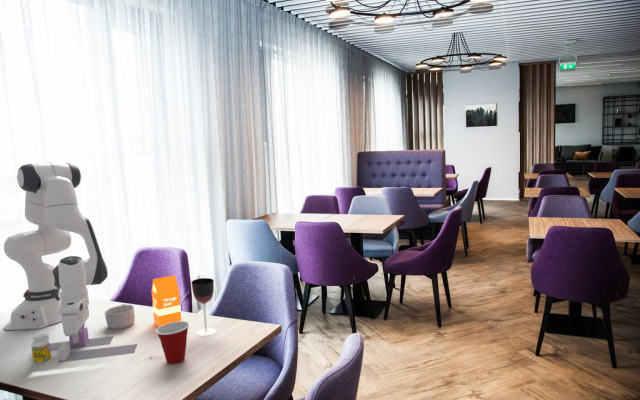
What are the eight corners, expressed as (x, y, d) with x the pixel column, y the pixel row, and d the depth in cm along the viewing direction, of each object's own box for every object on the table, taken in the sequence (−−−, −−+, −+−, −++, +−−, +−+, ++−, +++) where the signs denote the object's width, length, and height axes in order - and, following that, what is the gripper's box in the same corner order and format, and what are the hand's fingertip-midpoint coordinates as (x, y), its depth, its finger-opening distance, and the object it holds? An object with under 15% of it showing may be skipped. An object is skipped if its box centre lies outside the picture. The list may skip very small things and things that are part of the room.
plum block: (70, 347, 176) (68, 333, 176) (74, 342, 181) (72, 328, 180) (85, 345, 177) (84, 332, 177) (88, 340, 182) (87, 327, 182)
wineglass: (202, 337, 183) (198, 285, 181) (191, 331, 189) (187, 281, 187) (221, 331, 188) (217, 281, 186) (209, 326, 195) (206, 276, 192)
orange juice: (182, 325, 196) (178, 276, 194) (159, 331, 192) (155, 281, 189) (175, 320, 203) (172, 273, 201) (154, 325, 198) (150, 277, 196)
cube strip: (37, 355, 173) (35, 341, 172) (44, 346, 180) (43, 333, 180) (109, 346, 178) (108, 333, 177) (114, 338, 185) (112, 325, 185)
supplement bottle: (53, 358, 171) (50, 331, 169) (48, 364, 165) (45, 337, 164) (36, 360, 169) (33, 333, 168) (31, 366, 164) (27, 339, 163)
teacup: (128, 332, 191) (127, 313, 190) (101, 333, 192) (99, 313, 191) (142, 320, 205) (140, 301, 204) (116, 320, 205) (115, 302, 204)
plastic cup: (164, 354, 170) (161, 320, 169) (195, 353, 170) (193, 319, 168) (153, 368, 159) (150, 332, 158) (186, 367, 159) (183, 331, 157)
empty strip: (58, 365, 164) (56, 350, 163) (65, 355, 172) (63, 341, 171) (134, 355, 169) (133, 341, 169) (137, 346, 177) (136, 333, 176)
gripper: (73, 294, 187) (77, 329, 188) (57, 311, 167) (61, 350, 168) (91, 292, 188) (94, 327, 190) (77, 309, 168) (81, 348, 170)
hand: (79, 338), depth 179 cm, fingers open, 5 cm apart
